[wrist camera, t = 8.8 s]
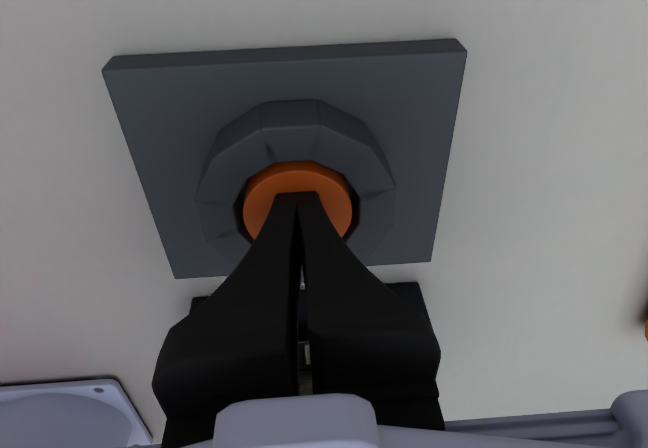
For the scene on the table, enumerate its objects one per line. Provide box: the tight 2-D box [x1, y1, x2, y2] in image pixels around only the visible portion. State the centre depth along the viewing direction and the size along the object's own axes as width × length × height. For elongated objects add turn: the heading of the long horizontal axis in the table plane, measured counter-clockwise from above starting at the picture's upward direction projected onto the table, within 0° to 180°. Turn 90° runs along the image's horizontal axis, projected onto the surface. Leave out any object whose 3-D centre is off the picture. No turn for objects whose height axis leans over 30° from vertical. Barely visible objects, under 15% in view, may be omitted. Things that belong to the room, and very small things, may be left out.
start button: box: [243, 160, 352, 240], centre depth 15 cm, size 4×4×2 cm
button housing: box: [102, 39, 467, 282], centre depth 16 cm, size 11×9×3 cm
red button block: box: [299, 371, 313, 396], centre depth 21 cm, size 5×2×4 cm, turn 1°
